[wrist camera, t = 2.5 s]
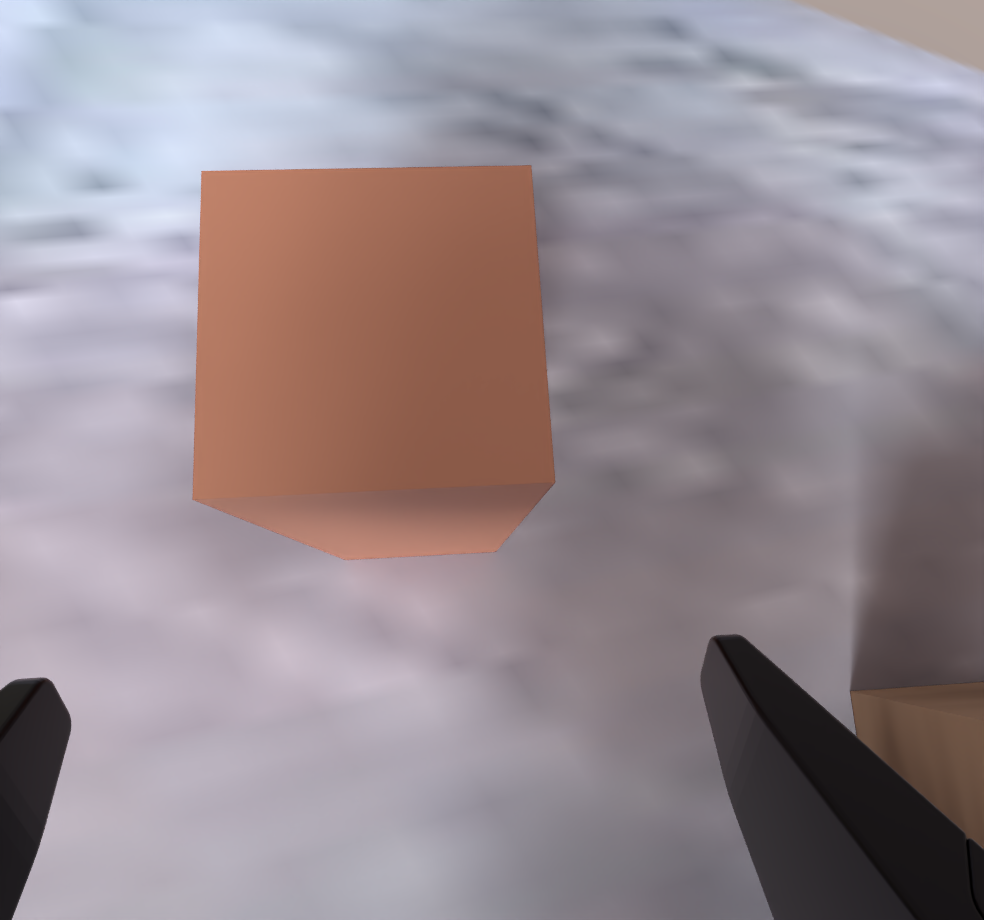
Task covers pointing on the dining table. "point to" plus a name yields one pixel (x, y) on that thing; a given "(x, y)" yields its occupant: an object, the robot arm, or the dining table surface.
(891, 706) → the walnut block
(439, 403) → the rust block
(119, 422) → the dining table surface
